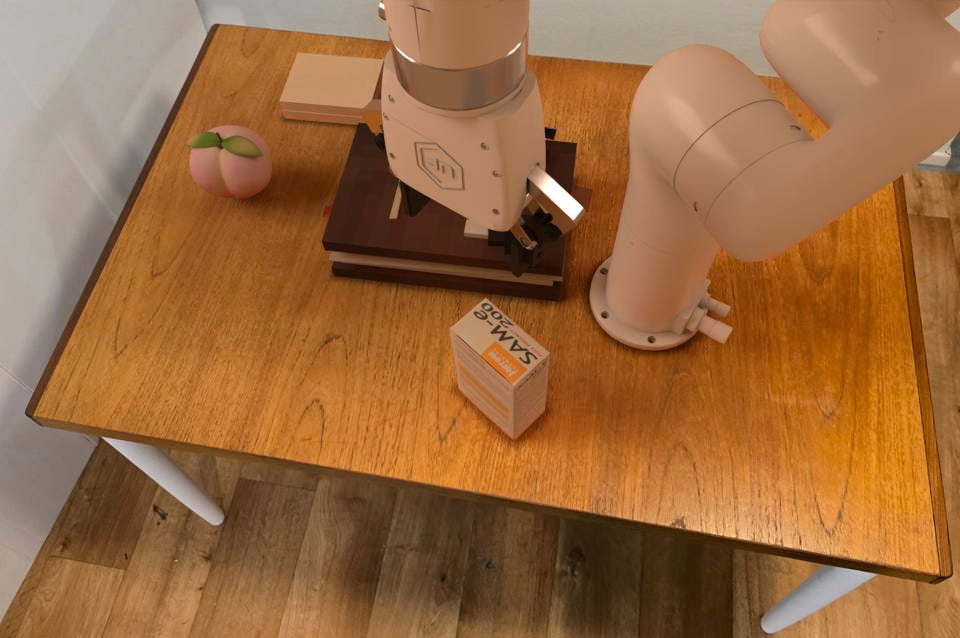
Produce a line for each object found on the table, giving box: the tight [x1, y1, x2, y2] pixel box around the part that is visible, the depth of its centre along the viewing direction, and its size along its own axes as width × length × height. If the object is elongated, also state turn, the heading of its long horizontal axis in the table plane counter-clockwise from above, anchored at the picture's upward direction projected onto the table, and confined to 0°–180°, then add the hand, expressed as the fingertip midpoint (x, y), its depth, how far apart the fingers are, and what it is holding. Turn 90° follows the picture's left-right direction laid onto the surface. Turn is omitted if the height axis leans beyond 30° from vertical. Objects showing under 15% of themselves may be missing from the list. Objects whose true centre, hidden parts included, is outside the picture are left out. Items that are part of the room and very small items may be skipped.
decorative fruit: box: [185, 124, 273, 199], centre depth 86 cm, size 9×8×10 cm
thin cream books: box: [278, 52, 385, 126], centre depth 96 cm, size 12×9×3 cm
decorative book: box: [321, 123, 594, 303], centre depth 83 cm, size 19×8×30 cm
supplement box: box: [449, 297, 551, 442], centre depth 70 cm, size 8×5×13 cm, turn 44°
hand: (472, 232), depth 56 cm, fingers open, 9 cm apart
